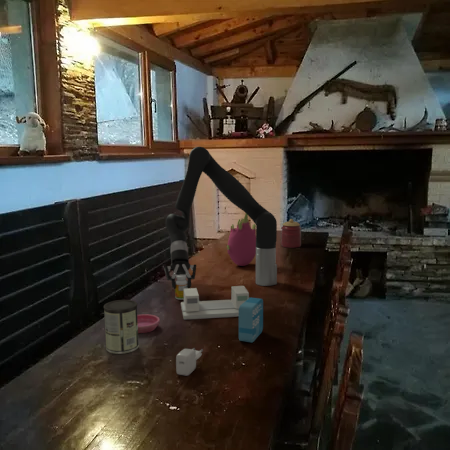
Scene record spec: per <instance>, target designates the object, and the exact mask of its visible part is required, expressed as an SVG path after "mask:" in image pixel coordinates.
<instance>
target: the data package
mask: <svg viewBox="0 0 450 450" xmlns="http://www.w3.org/2000/svg"><path fill="white" fill-rule="evenodd" d="M263 329H264V300H263V298H259V297H250V296H249V299H247V300H246V301H245V302H244V303H243V304H241V305H240V307H239V316H238V339H239V341H240V342H246V343H251V344H252V343H253V342H255V341H256V340H257V339H258V337H259V336H260V335H261V334H262V332H263Z"/></svg>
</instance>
